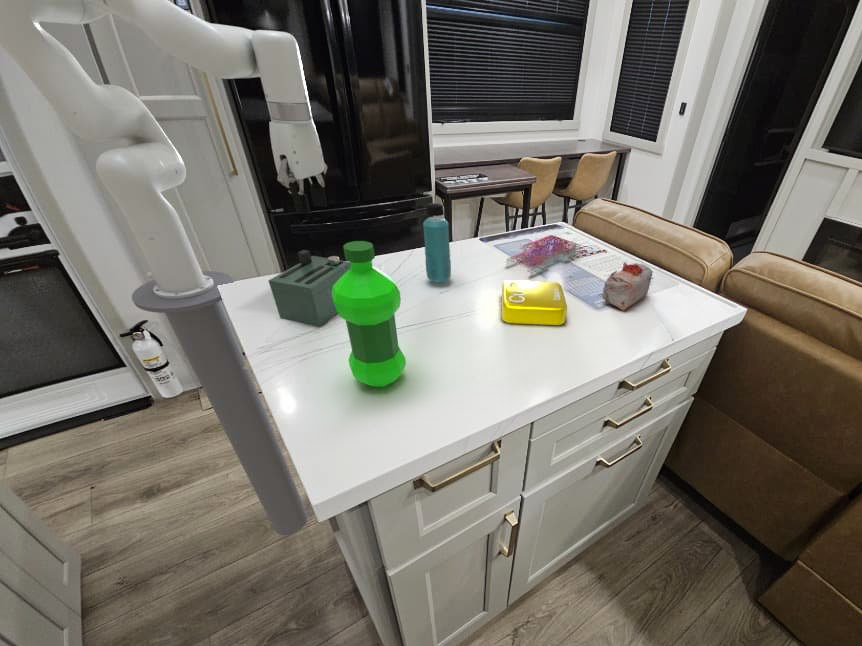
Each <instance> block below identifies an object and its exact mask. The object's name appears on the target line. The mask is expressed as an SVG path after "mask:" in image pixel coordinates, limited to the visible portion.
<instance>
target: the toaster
mask: <svg viewBox="0 0 862 646" xmlns="http://www.w3.org/2000/svg"><path fill="white" fill-rule="evenodd" d="M311 260H312V262H310V263H308V264H307V265H306V264H300V262H299V263H297V264H295V265H293V266H292V267H290V268H288V269H286V270H284V271H283V272H281V273H279V274H277V275H276V276H274V277H272V278H270V279H268V285H269V287H270V290H271V294H272V296H273V299H274V303H275V307H276V309H277V312H278V315H279V319H281V320H286V321H290V322H291V321H292V322H295V323H301V324H305V325H312V326H316V327H322V326H323V325H324V324H326V323H327V322H328V321H329V320H331V319H332V318H334V317H335V316H336V315H338V311H337V309H336V307H335V304H334V302H333V298H332V294H331V293H332V288H333V285H334V284H335V283H336V282H337V281H338V280H339V279H340V278H341V277H342V276H343V275H344V274H345V273H346V272H347V271H348V270H349V269H350V268H351V265H350V262H349V261H347V260H346V261H345V260H340V259H339V260H340V265H339V266H337V267H335V266H329V262H328V257H322V256H316V255H311Z"/></svg>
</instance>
